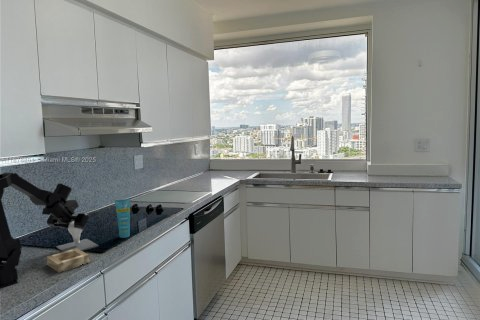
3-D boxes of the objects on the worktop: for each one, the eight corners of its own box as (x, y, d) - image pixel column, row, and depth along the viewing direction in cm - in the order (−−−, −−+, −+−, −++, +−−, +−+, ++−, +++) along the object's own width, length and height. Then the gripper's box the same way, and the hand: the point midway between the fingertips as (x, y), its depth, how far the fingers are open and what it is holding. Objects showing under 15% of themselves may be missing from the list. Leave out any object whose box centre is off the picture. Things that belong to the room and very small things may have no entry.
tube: (118, 239, 171) (115, 201, 169) (116, 236, 175) (113, 199, 173) (133, 236, 174) (130, 199, 172) (131, 233, 178) (129, 197, 176)
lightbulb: (81, 246, 158) (79, 222, 157) (67, 246, 157) (65, 223, 156) (86, 241, 164) (84, 218, 163) (72, 242, 164) (70, 219, 163)
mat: (66, 255, 151) (66, 253, 151) (56, 247, 161) (56, 246, 161) (98, 246, 161) (98, 245, 161) (86, 239, 171) (86, 238, 171)
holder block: (58, 272, 133) (57, 264, 133) (47, 264, 141) (46, 256, 141) (89, 262, 142) (88, 254, 142) (77, 256, 150) (76, 248, 150)
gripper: (84, 195, 152) (102, 214, 164) (49, 194, 157) (68, 212, 169) (73, 218, 146) (92, 235, 157) (36, 216, 150) (57, 233, 162)
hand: (77, 228), depth 161 cm, fingers closed on lightbulb, 6 cm apart
